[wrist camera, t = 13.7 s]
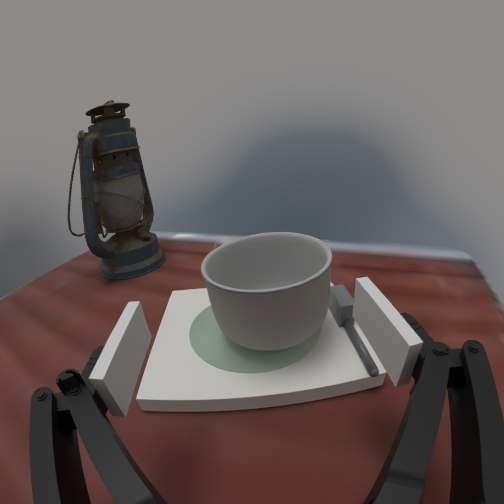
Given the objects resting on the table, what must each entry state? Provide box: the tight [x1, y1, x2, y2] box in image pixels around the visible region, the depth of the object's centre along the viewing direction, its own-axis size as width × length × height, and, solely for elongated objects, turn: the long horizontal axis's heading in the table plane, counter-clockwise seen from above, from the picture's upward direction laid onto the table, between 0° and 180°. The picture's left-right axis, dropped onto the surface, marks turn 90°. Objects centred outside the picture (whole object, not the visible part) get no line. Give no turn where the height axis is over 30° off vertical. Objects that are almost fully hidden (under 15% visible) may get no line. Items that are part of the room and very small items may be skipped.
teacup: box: [201, 232, 332, 351], centre depth 26 cm, size 14×11×8 cm
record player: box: [136, 282, 386, 412], centre depth 27 cm, size 20×18×4 cm
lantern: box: [68, 100, 165, 280], centre depth 44 cm, size 19×14×30 cm
